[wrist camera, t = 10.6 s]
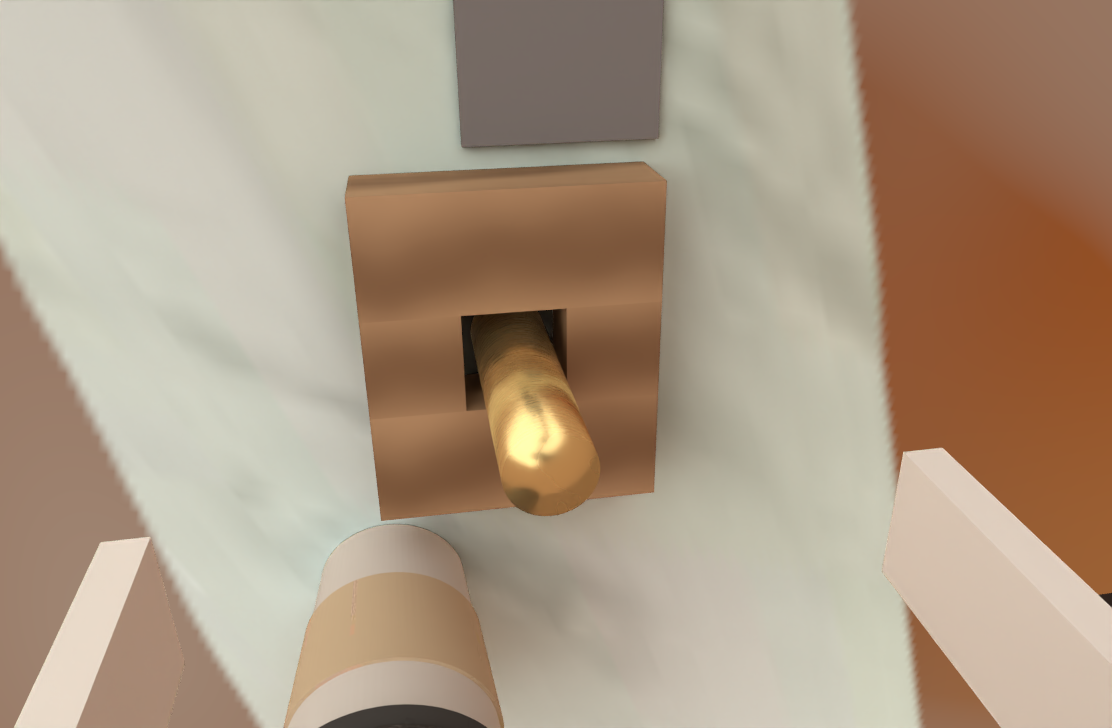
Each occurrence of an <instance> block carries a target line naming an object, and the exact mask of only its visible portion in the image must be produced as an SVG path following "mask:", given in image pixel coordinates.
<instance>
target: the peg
mask: <svg viewBox="0 0 1112 728" xmlns="http://www.w3.org/2000/svg"><path fill="white" fill-rule="evenodd" d="M471 339H472V344H473V349H474V353H475V358H476V363H477V368H478V372H479V377H480V382H481V387H482V391H483V396H484V401H485V406H486V410H487V415H488V420H489V425H490V429H491V434H492V439H493V444H494V448H495V453H496V458H497V463H498V467H499V472H500V477H501V482H502V486H503V489H504V492H505V494H506V496H507V497H508V499H509V500H510V501H511V502H512V503H513V504H514V505H515V506H516V507H518V508H519V509H521V510H522V511H525V512H527V513H530V514H533V515H539V516H553V515H559V514H562V513H566V512H568V511H571V510H572V509H574V508H576V507H578V506H579V505H581V504H582V503H583V502H584V501H585V500H586V499H587V498H588V497H589V496H590V495H591V494H592V492H593V491H594V489H595V487H596V486H597V483H598V480H599V476H600V461H599V457H598V455H597V452H596V450H595V447H594V445H593V442H592V440H591V437H590V435H589V433H588V430H587V428H586V425H585V423H584V421H583V418H582V416H581V413H580V411H579V408H578V406H577V404H576V401H575V399H574V396H573V394H572V391H571V389H570V387H569V384H568V382H567V379H566V377H565V375H564V372H563V370H562V367H561V365H560V362H559V360H558V358H557V355H556V353H555V350H554V348H553V346H552V343H551V341H550V338H549V336H548V333H547V331H546V329H545V326H544V324H543V321H542V319H541V316H540V314H539V313H538V311H524V312H510V313H496V314H483V315H475V316H474V318H473V321H472V324H471Z"/></svg>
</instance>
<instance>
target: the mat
mask: <svg viewBox="0 0 1112 728" xmlns="http://www.w3.org/2000/svg"><path fill="white" fill-rule="evenodd" d="M663 4H664V0H453V5H454V23H455V41H456V59H457V77H458V95H459V113H460V131H461V146H462V147H478V146H501V145H523V144H546V143H568V142H591V141H613V140H636V139H658V138H659V112H660V85H661V58H662V31H663Z"/></svg>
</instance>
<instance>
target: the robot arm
mask: <svg viewBox="0 0 1112 728" xmlns="http://www.w3.org/2000/svg"><path fill="white" fill-rule="evenodd" d="M882 572H883V574H884V575H885V576H886V578H887V579H888V580H889V581H890V583H891V584H892V585H893V587H894V588H895V589H896V591H897V592H898V593H899V595H900V596H901V597H902V599H903V600H904V601H905V602H906V604H907V605H908V606H909V608H910V609H911V610H912V612H913V613H914V614H915V616H916V617H917V618H918V619H919V621H920V622H921V623H922V625H923V626H924V627H925V628H926V630H927V631H928V633H929V634H930V635H931V636H932V638H933V639H934V640H935V642H936V643H937V644H938V646H939V647H940V648H941V649H942V651H943V652H944V654H945V655H946V656H947V657H948V659H949V660H950V661H951V662H952V664H953V665H954V667H955V668H956V669H957V670H958V672H959V673H960V674H961V676H962V677H963V678H964V680H965V681H966V682H967V684H968V685H969V686H970V688H971V689H972V690H973V691H974V693H975V694H976V695H977V697H978V698H979V699H980V701H981V702H982V703H983V705H984V706H985V707H986V708H987V710H988V711H989V712H990V714H991V715H992V716H993V717H994V719H995V720H996V722H997V723H998V724H999V726H1000V727H1001V728H1112V593H1109V594H1102V595H1098V594H1097V593H1095V591H1093V590H1092V589H1091V588H1090V587H1089V586H1088V585H1087V584H1086V583H1085V582H1084V581H1083V580H1082V579H1081V578H1080V577H1079V576H1077V574H1076V573H1074V572H1073V571H1072V570H1071V569H1070V568H1069V567H1068V566H1067V565H1066V564H1065V563H1064V562H1063V561H1062V560H1060V558H1059V557H1057V556H1056V555H1055V554H1054V553H1053V552H1052V551H1051V550H1050V549H1049V548H1048V547H1047V546H1046V545H1045V544H1044V543H1043V542H1041V540H1039V539H1038V538H1037V537H1036V536H1035V535H1034V534H1033V533H1032V532H1031V531H1030V530H1029V529H1028V528H1027V527H1026V526H1025V525H1024V524H1022V523H1021V522H1020V521H1019V520H1018V519H1017V518H1016V517H1015V516H1014V515H1013V514H1012V513H1011V512H1010V511H1009V510H1008V509H1007V508H1006V507H1004V506H1003V505H1002V504H1001V503H1000V502H999V501H998V500H997V499H996V498H995V497H994V496H993V495H992V494H991V493H990V492H989V491H988V490H986V489H985V488H984V487H983V486H982V485H981V484H980V483H979V482H978V481H977V480H976V479H975V478H974V477H973V476H972V475H971V474H969V473H968V472H967V471H966V470H965V469H964V468H963V467H962V466H961V465H960V464H959V463H958V462H957V461H956V460H955V459H954V458H952V457H951V456H950V455H949V454H948V453H947V452H946V451H945V450H944V449H943V448H937V449H927V450H919V451H909V452H903V458H902V463H901V469H900V474H899V480H898V485H897V491H896V496H895V502H894V507H893V512H892V518H891V523H890V529H889V534H888V540H887V545H886V551H885V556H884V562H883V567H882ZM184 666H185V661H184V657H183V654H182V650H181V646H180V643H179V639H178V635H177V632H176V628H175V624H174V621H173V617H172V613H171V610H170V606H169V603H168V599H167V595H166V591H165V588H164V584H163V580H162V577H161V573H160V570H159V566H158V562H157V559H156V555H155V551H154V548H153V544H152V540H151V537H144V538H136V539H126V540H117V541H109V542H101V543H100V545H99V547H98V549H97V551H96V553H95V555H94V558H93V560H92V562H91V564H90V566H89V568H88V570H87V573H86V575H85V577H84V579H83V581H82V583H81V585H80V587H79V590H78V592H77V594H76V596H75V598H74V601H73V603H72V605H71V607H70V609H69V611H68V613H67V616H66V617H65V620H64V622H63V624H62V626H61V628H60V630H59V632H58V635H57V637H56V639H55V641H54V643H53V645H52V647H51V650H50V652H49V654H48V656H47V658H46V660H45V662H44V665H43V667H42V669H41V671H40V673H39V675H38V677H37V680H36V682H35V684H34V686H33V688H32V690H31V692H30V695H29V697H28V699H27V701H26V703H25V705H24V707H23V710H22V712H21V714H20V716H19V718H18V720H17V722H16V725H15V727H14V728H168V724H169V720H170V717H171V713H172V710H173V706H174V702H175V699H176V695H177V692H178V688H179V684H180V680H181V677H182V673H183V669H184Z"/></svg>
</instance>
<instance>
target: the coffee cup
mask: <svg viewBox="0 0 1112 728" xmlns="http://www.w3.org/2000/svg"><path fill="white" fill-rule="evenodd" d="M284 728H504V723H503V717H502V713H501V709H500V705H499V701H498V697H497V693H496V688H495V684H494V680H493V676H492V672H491V668H490V664H489V660H488V656H487V652H486V648H485V644H484V640H483V635H482V631H481V627H480V623H479V619H478V617H477V614H476V612H475V610H474V608H473V607H472V604H471V600H470V596H469V592H468V587H467V583H466V579H465V575H464V570H463V566H462V563H461V560H460V558H459V556H458V554H457V553H456V551H455V550H454V549H453V547H452V546H451V545H450V544H449V543H448V542H447V541H445V540H444V539H443V538H441V537H440V536H438V535H437V534H435V533H433V532H431V531H428V530H426V529H423V528H420V527H416V526H411V525H402V524H389V525H381V526H376V527H372V528H368V529H366V530H363V531H360V532H358V533H356V534H354V535H352V536H351V537H349V538H348V539H346V540H345V541H343V542H342V543H341V544H340V545H339V546H338V547H337V548H336V549H335V550H334V551H333V552H332V553H331V555H330V556H329V558H328V560H327V561H326V564H325V566H324V569H323V573H322V577H321V581H320V586H319V590H318V595H317V599H316V604H315V608H314V612H313V615H312V617H311V619H310V620H309V623H308V625H307V629H306V632H305V637H304V641H303V645H302V650H301V654H300V658H299V663H298V667H297V671H296V676H295V680H294V684H293V689H292V693H291V697H290V702H289V706H288V710H287V715H286V719H285V723H284Z"/></svg>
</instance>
